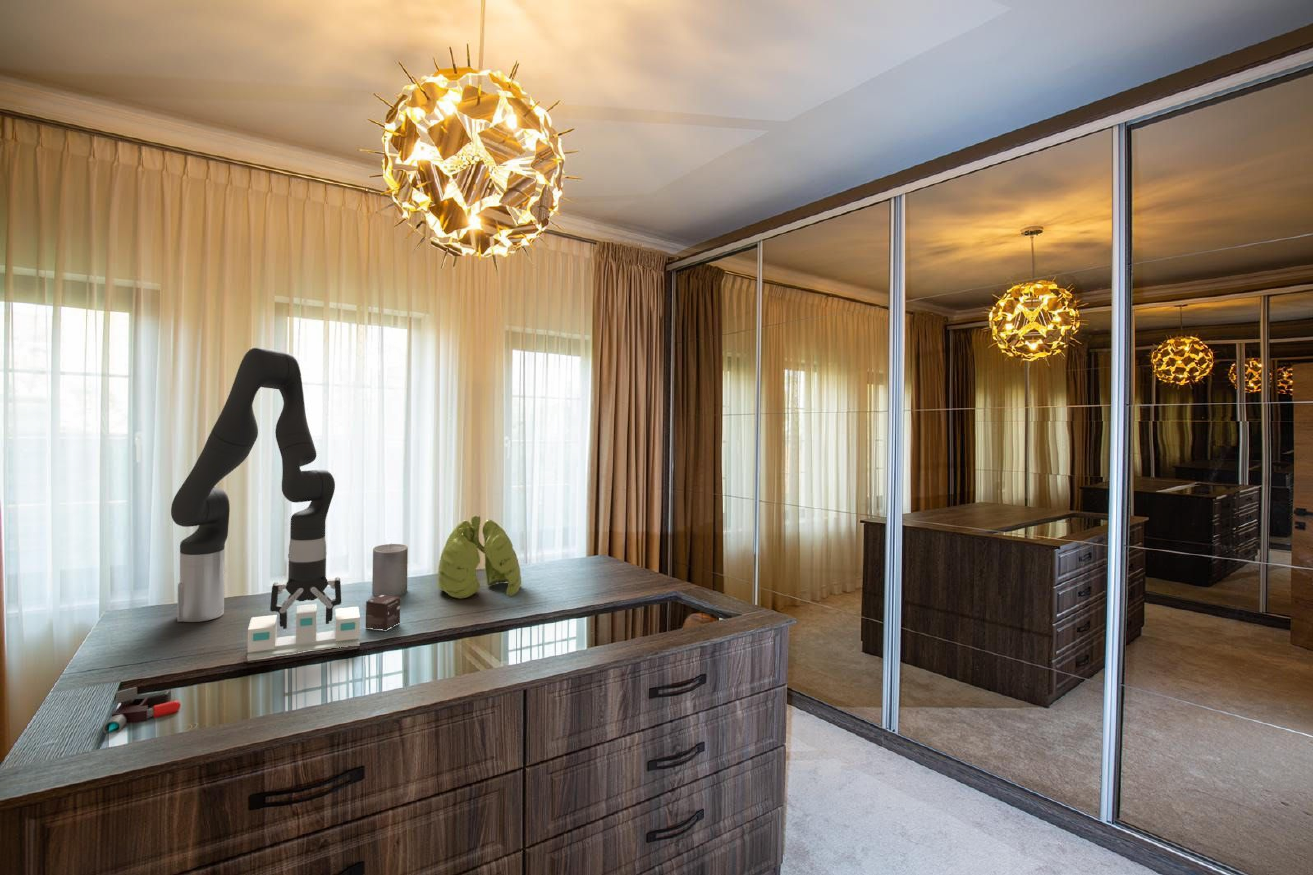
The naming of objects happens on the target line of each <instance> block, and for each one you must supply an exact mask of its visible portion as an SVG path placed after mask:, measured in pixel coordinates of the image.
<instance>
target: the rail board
mask: <svg viewBox="0 0 1313 875" xmlns="http://www.w3.org/2000/svg"><path fill="white" fill-rule="evenodd" d="M359 608H360V607H359V606H350V607H340V608H335V611H334V612H335V613H334V616H335V617H334V630H330V631H322V632H321V631H320V632H316V642H311V643H303V644H296V634H295V635H288V636H287V635H286V636H280V637H279V636H278V614H273V615H263V616H262V615H261V616H252V617H251V618H250V621H249V624H248V628H247V653H248V654H247V655H246V656H247V657H246V660H247V659H256V658H264V657H270V656H276V655H286V654H293V653H298V652H303V651H308V650H324V649H331V648H339V647H340V648H341V647H348V646H360V644H361V643H360V633H361V632H360V631H361V630H360V627H361V616H360V614H361V613H360V609H359ZM277 636H278V637H277Z"/></svg>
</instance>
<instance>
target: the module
mask: <svg viewBox="0 0 1313 875" xmlns="http://www.w3.org/2000/svg"><path fill="white" fill-rule="evenodd" d="M317 606H318V604H317V603H312V604H301V605H297V606H296V616H295V619H296V620H295V623H296V624H295V625H296V626H295V635H296V644H303V643H311V642H316V633H317V617H318V615H317V612H318V610H317V609H318V607H317Z"/></svg>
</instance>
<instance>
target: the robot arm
mask: <svg viewBox="0 0 1313 875" xmlns="http://www.w3.org/2000/svg"><path fill="white" fill-rule="evenodd" d="M260 388H264V389H265V388H266V389H272V390H279V392H280V394H281V397H282V401H283V405H282V410H281V413H280V414H279V417H278V420H277V422H276V425H275V440H276V443H277V446H278V450H279V453H280V456H281V464H282V466H281V467H282V468H281V469H282V475H281V476H282V477H281V492H282V495H283V496H284V498H285V499H286V500H288V501H289V502H290V503H297V504H298V503H304V502H310V503H309V505H308V507H306V508H304V509H303V510H298V511H297V512H295V513H293V514H292V515H291V517H290V529H289V530H290V534H289V536H290V537H289V546H288V555H287V557H288V573H287V574H288V575H287V576H288V577H287V578H288V580H287V582H286V583H278V582H274V583H273V584H272V586H271V595H270V596H271V597H270V598H271V599H270V605H269V606H270V607H269V610H270V612H272V613H273V612H276V613H278V614H279V626H280V628H282V629H283V630H286V629H287V628H288V609H289V608H290V607H291V606H292V605H293V604H294V603H295V601H298V602H305V601H315V600H319V601H320V602H321V603H322V604H323V605H324V606H325V624H326V625H329V624H330V622H332V621H333V609H334V607H335V606H340V605H341V604H342V587H341V586H342V584H341V578H340V577H339V576H338V577H337V576H336V577H335V579H327V575H326V573H327V572H326V571H327V542H326V521H327V520H326V519H327V516H328V513H329V508H330V506H331V503H332V499H333V497H334V494H335V490H336V489H335V488H336V485H335V484H336V481H335V478H334V475H332V473H331V472H330V471H328V470H326V469H313V470H301V467H303V466H307V465H310V464H311V463H313V462H315V460H316V459H317V450H316V447H315V444H314V441H313V437H312V434H311V431H310V428H309V425H308V421H307V416H306V415H307V414H306V408H305V404H306V403H305V396H304V389H303V381H302V373H301V369H300V364H299V361H298V360H297V358H296V357H295V356H294V355H293V354H291V353H288V352H285V351H279V350H274V349H268V348H264V347H253V348H251V349H249V350H248V351H247V352H246V353H245V354H244V355H243V358H242V360H241V361H240V364H239V366H238V369H237V372H236V374H235V378H234V381H233V383H232V386H231V389H230V392H229V395H228V397H227V399H226V401H225V404H224V405H223V408H222V410H221V412H220V414H219V415H218V418H217V420H216V421H215V423H214V425H213V428H212V429H211V431H210V433H209V436H208V438H207V439H206V442H205V445H204V447H203V449H202V450H201V453H200V455H199V457H198V458H197V460H196V461H195V463H194V466H193V468H192V470H191V471H190V472H189V474H188V475H187V477H186V478H185V480H184V481H183V483H182V484H181V486H180V487H179V489H178V491H177V492H176V493H175V496H174V498H173V500H172V503H171V508H170V515H171V519H172V522H174V524H176V525H177V526H180V527H185V528H188V527H197V526H198V528H197V529H196V530H195V531H194V532H193V533H192V534H190V535H189V536H187V537H186V538H184V539H182V540H181V541H180V543H179V544H180V545H179V582H178V583H177V622H178V623H179V622H185V623H198V622H206V621H211V620H214V619H215V620H216V619H217V618H220V617H222V616H223V615H224V613H225V555H226V554H225V553H226V551H225V550H226V549H225V544H226V541H227V540H228V535H229V524H230V509H231V507H230V500H229V496H228V494H227V493H226V491H225V490H224V489H222V488H221V487H217V484H218V483H219V482H220V481H222V480H223V479H224V478H225V477H226V476H227V475H229V474H230V473H231V472H233V471H234V470H235V469H237V468H238V467H239V466H240V465H242V463H243V462H245V460H246V459H247V458H248V456H250V455H249V454H250V453H251V451H252V448H253V447H254V445H255V444H256V441H257V439H258V436H259V428H258V427H259V426H258V422H257V419H256V417H255V413H254V409H253V404H254V401H255V397H256V395H257V392H258V391H259V389H260ZM328 586H330V588H331V589H332V590H334V595H335V596H334V597H335V598H334V599H331V598H330V597H329V596H328V595H327V593H326V592H325V589H326V588H327V587H328ZM283 590H286V591H287V592H288V593H289V595H288V596H287V597H286V599H285V600H284V602H283V603H282V604H278V600H279V599H278V598H279V595H280V594H282V592H283Z"/></svg>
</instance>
